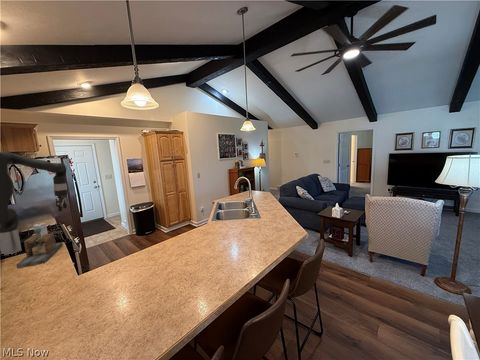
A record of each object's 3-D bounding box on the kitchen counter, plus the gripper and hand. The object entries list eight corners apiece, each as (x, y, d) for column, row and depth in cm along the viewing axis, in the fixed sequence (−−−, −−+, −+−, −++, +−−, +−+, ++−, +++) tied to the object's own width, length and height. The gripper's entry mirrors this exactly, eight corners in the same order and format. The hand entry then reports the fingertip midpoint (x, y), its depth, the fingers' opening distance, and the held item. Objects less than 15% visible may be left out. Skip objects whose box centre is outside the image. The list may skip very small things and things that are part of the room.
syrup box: (49, 238, 174) (46, 222, 171) (41, 241, 168) (38, 225, 166) (43, 238, 174) (40, 222, 172) (35, 241, 168) (32, 225, 166)
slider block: (33, 254, 140) (28, 231, 138) (37, 251, 146) (33, 228, 143) (45, 252, 143) (41, 229, 140) (50, 249, 148) (46, 226, 146)
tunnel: (17, 268, 129) (13, 247, 127) (40, 248, 155) (37, 231, 153) (44, 263, 135) (41, 243, 132) (63, 245, 160) (60, 228, 158)
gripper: (58, 188, 159) (60, 207, 162) (49, 191, 146) (52, 212, 149) (70, 187, 162) (72, 206, 164) (62, 190, 149) (65, 211, 151)
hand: (62, 209), depth 156 cm, fingers open, 8 cm apart
